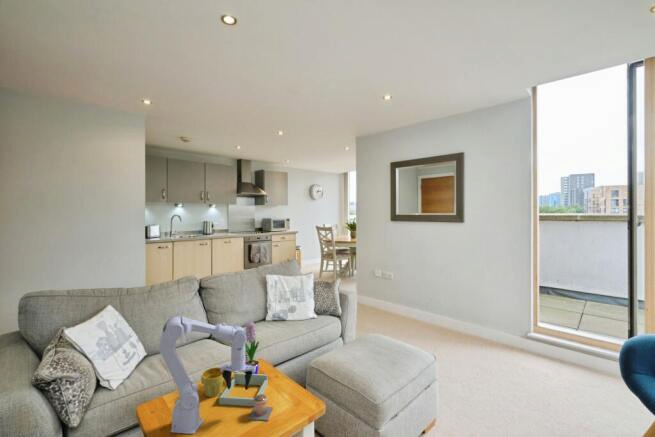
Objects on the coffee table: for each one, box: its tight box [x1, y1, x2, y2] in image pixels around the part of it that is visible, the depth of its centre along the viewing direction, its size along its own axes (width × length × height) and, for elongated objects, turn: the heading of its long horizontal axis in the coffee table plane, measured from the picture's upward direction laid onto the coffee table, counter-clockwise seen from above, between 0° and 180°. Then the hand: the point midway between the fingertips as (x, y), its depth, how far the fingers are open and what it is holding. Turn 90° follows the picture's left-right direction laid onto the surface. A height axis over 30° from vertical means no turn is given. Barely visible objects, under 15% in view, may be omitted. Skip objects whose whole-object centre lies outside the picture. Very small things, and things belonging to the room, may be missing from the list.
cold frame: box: [218, 372, 269, 407], centre depth 139 cm, size 17×17×5 cm
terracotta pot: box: [253, 393, 269, 416], centre depth 126 cm, size 6×6×6 cm
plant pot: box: [200, 366, 225, 398], centre depth 140 cm, size 10×10×10 cm
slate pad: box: [248, 406, 274, 422], centre depth 125 cm, size 8×8×1 cm
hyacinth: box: [243, 320, 260, 374], centre depth 154 cm, size 9×10×30 cm
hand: (238, 388), depth 126 cm, fingers open, 7 cm apart
